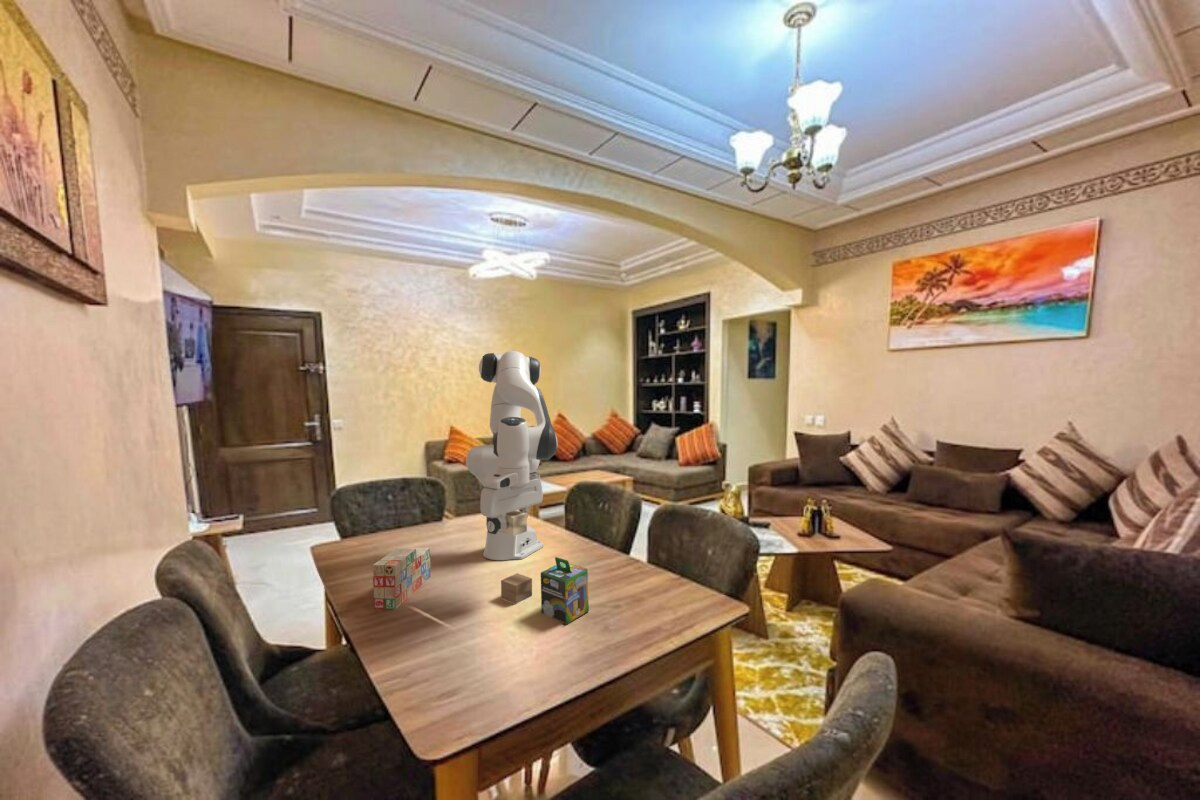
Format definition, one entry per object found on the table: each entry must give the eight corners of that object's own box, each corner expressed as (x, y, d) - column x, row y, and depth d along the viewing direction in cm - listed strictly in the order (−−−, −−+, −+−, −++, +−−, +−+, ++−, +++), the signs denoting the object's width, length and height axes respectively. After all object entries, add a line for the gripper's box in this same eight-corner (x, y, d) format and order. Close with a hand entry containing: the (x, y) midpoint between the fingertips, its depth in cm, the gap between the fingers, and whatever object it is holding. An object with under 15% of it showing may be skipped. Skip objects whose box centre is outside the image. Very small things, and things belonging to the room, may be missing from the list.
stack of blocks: (411, 576, 143) (411, 537, 143) (430, 577, 143) (430, 538, 142) (373, 609, 122) (372, 563, 122) (395, 610, 121) (395, 564, 121)
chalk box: (589, 611, 120) (589, 556, 120) (565, 626, 113) (565, 567, 112) (563, 601, 126) (563, 548, 125) (539, 614, 119) (539, 558, 118)
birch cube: (514, 527, 130) (514, 510, 130) (526, 531, 127) (526, 513, 127) (501, 532, 126) (500, 514, 126) (513, 536, 123) (513, 517, 123)
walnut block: (517, 590, 131) (517, 573, 131) (532, 595, 128) (531, 578, 128) (501, 598, 127) (501, 580, 126) (516, 604, 123) (516, 585, 123)
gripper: (532, 469, 136) (532, 515, 137) (476, 480, 120) (477, 532, 120) (547, 471, 132) (547, 518, 133) (492, 484, 116) (492, 537, 117)
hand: (513, 525), depth 126 cm, fingers closed on birch cube, 5 cm apart
